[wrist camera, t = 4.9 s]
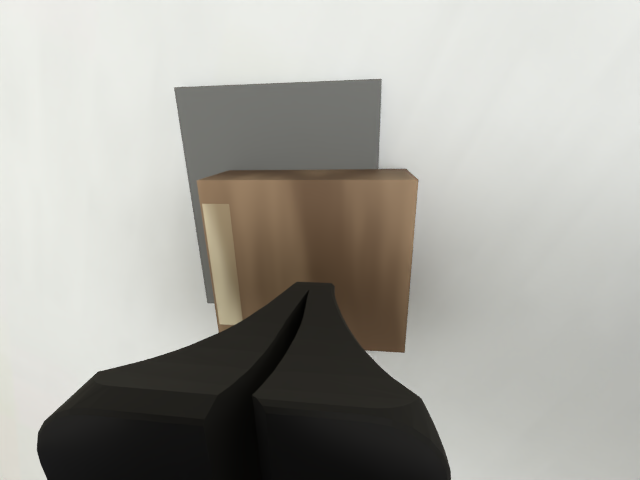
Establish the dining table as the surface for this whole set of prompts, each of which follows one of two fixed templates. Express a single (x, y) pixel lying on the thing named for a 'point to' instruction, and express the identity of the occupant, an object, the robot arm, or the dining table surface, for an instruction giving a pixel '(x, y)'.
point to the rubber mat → (276, 132)
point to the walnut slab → (313, 243)
